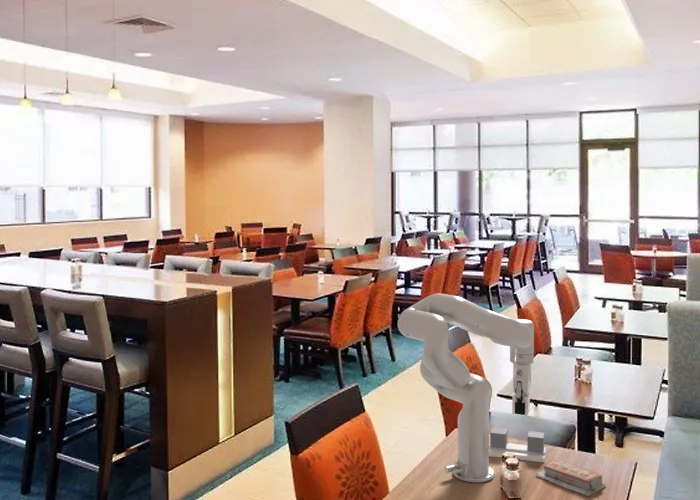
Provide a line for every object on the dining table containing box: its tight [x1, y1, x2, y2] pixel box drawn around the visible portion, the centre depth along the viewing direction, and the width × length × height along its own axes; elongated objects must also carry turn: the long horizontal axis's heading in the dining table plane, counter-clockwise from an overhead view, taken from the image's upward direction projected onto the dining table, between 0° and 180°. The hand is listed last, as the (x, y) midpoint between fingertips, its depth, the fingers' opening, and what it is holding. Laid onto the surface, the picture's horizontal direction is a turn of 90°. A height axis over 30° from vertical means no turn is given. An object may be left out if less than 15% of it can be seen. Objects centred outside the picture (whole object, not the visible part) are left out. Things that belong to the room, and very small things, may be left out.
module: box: [511, 391, 531, 416], centre depth 219 cm, size 5×5×7 cm
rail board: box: [489, 426, 547, 463], centre depth 221 cm, size 18×9×7 cm, turn 70°
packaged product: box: [535, 458, 607, 497], centre depth 200 cm, size 18×5×10 cm
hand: (520, 410), depth 219 cm, fingers closed on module, 5 cm apart
